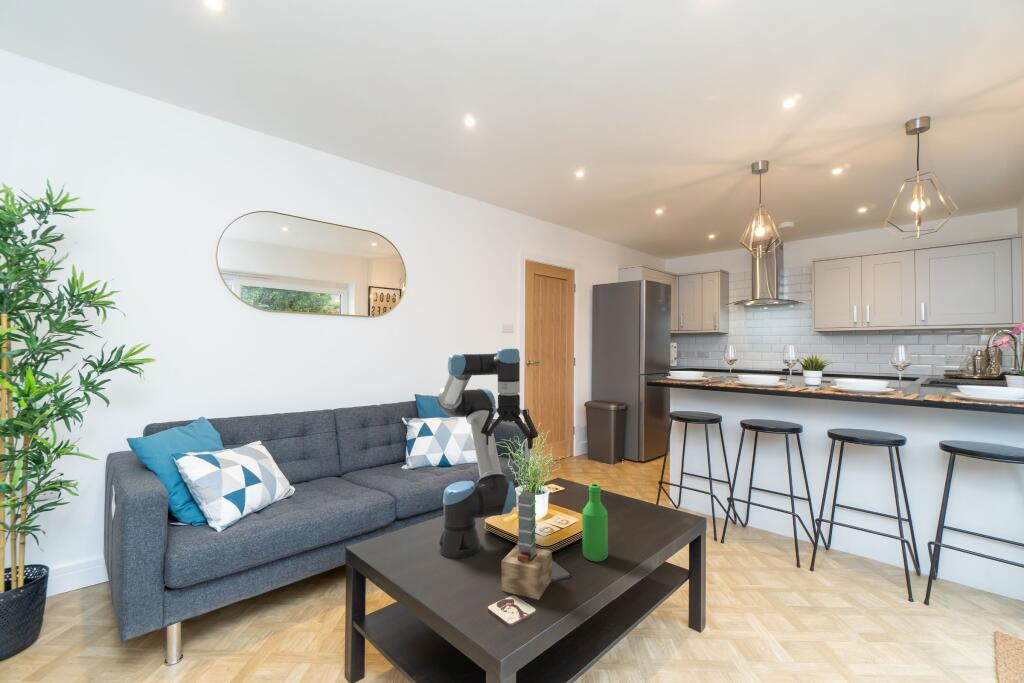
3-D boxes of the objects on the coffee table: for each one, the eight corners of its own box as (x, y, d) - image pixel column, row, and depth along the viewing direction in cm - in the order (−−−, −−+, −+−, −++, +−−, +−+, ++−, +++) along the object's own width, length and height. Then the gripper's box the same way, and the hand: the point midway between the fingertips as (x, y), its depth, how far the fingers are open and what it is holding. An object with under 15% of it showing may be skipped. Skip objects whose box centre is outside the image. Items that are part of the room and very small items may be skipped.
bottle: (608, 563, 150) (607, 490, 150) (582, 561, 151) (581, 488, 152) (607, 551, 158) (607, 482, 158) (583, 549, 160) (582, 480, 160)
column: (517, 567, 136) (517, 495, 136) (523, 561, 140) (522, 491, 140) (531, 570, 134) (530, 497, 134) (536, 563, 138) (535, 493, 138)
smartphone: (547, 555, 155) (571, 574, 142) (547, 558, 155) (571, 577, 142) (528, 560, 152) (551, 580, 138) (528, 563, 152) (551, 583, 138)
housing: (501, 590, 134) (501, 555, 134) (517, 572, 145) (517, 539, 145) (538, 599, 129) (538, 563, 129) (552, 579, 140) (551, 546, 140)
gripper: (471, 393, 151) (471, 455, 151) (539, 396, 141) (539, 463, 141) (481, 391, 158) (481, 450, 158) (547, 394, 148) (547, 457, 148)
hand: (509, 456), depth 149 cm, fingers open, 13 cm apart
